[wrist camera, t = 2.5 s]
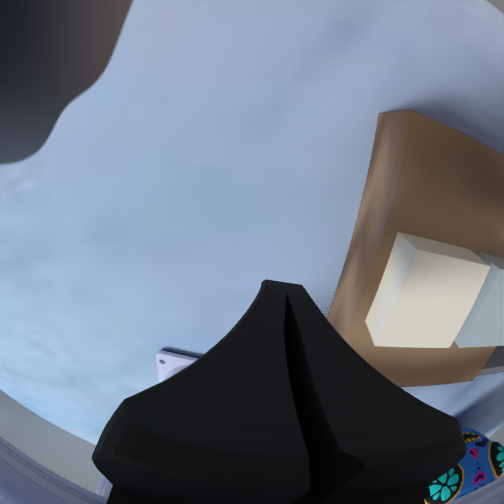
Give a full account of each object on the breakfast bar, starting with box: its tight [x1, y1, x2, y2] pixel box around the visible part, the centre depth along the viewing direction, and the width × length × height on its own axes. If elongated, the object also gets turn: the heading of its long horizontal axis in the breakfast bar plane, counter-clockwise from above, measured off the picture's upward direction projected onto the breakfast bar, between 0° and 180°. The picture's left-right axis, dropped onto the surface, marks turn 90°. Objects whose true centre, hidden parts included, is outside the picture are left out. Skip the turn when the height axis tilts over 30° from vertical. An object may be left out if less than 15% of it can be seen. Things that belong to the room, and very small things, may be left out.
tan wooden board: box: [327, 110, 504, 387], centre depth 14 cm, size 16×14×4 cm
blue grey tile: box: [454, 252, 504, 348], centre depth 12 cm, size 5×5×2 cm
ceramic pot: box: [424, 428, 504, 504], centre depth 20 cm, size 18×18×15 cm
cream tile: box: [365, 232, 491, 348], centre depth 12 cm, size 5×5×2 cm
